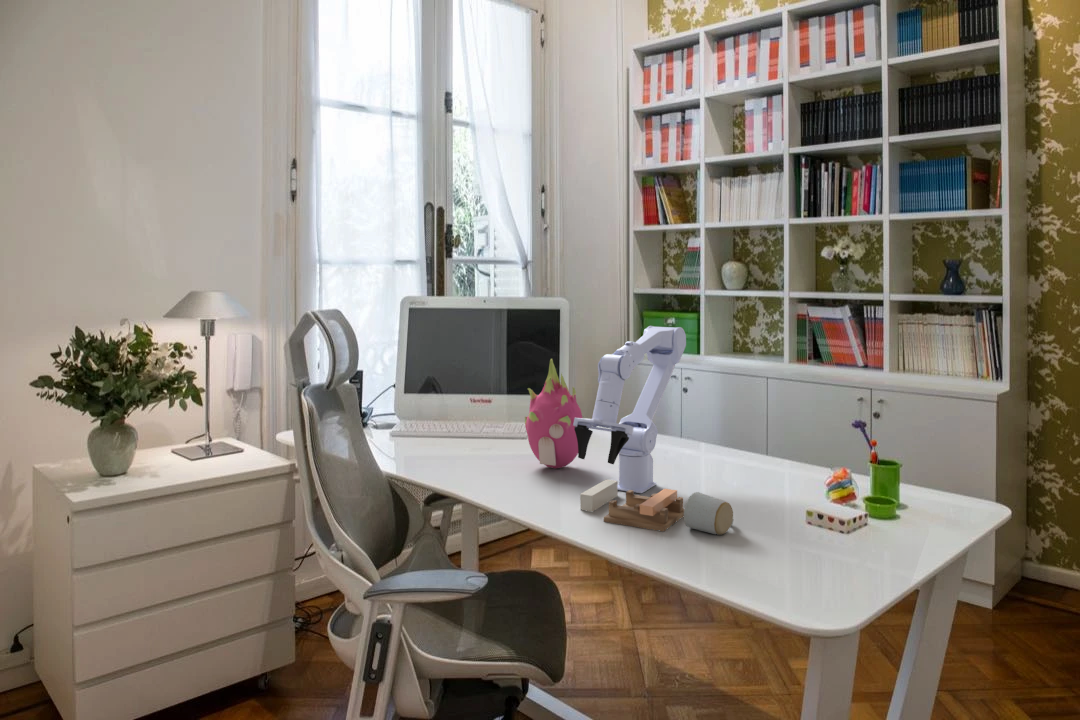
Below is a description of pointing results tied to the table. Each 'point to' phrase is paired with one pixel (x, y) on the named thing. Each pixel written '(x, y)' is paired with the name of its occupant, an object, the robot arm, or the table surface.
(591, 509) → the pale grey bar
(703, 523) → the grey cylinder
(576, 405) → the pink dragon fruit
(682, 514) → the slotted wooden stand
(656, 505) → the fired strip
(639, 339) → the robot arm
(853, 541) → the table surface
